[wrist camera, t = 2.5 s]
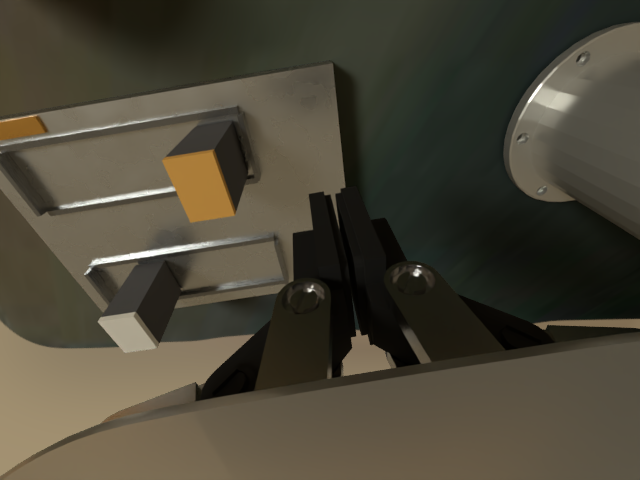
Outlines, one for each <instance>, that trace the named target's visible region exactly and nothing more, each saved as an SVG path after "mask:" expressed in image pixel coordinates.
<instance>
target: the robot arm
mask: <svg viewBox="0 0 640 480" xmlns="http://www.w3.org/2000/svg"><path fill="white" fill-rule="evenodd" d="M503 157H504V163H505V169H506V171H507V173H508V175H509V178H510V179H511V181H512V182H513V183H514V184H515V185H516V187H518V188H519V189H520V190H522V191H523V192H524V193H526V194H527V195H529V196H531V197H533V198H534V199H537V200H542V201H547V202H566V201H572V200H577V201H578V202H580V203H581V204H583V205H585V206H586V207H588V208H589V209H591V210H593V211H594V212H596V213H598V214H599V215H601V216H602V217H604V218H606V219H607V220H609V221H610V222H612V223H614V224H615V225H617V226H618V227H620V228H622V229H623V230H625V231H626V232H628V233H630V234H631V235H633V236H635V237H636V238H638V239H639V240H640V22H631V23H625V24H619V25H614V26H611V27H608V28H606V29H603V30H600V31H598V32H595V33H593V34H591V35H590V36H588V37H586V38H584V39H582V40H581V41H579V42H577V43H575V44H574V45H573V46H571V47H570V48H569V49H567V50H566V51H565V52H563V53H562V54H561V55H559V56H558V57H557V58H556V59H555V60H554V61H553V62H551V63H550V64H549V65H548V66H547V67H546V68H545V69H544V70H543V71H542V72H541V73H540V74H539V76H538V77H537V78H536V79H535V81H534V82H533V83H532V84H531V86H530V87H529V88H528V89H527V91H526V92H525V94H524V95H523V97H522V99H521V100H520V102H519V104H518V105H517V107H516V109H515V111H514V113H513V116H512V118H511V120H510V123H509V125H508V129H507V132H506V136H505V140H504V153H503ZM340 191H341V193H336V194H335V198H336V206H337V214H338V222H339V226H338V222H337V218H336V214H335V210H334V206H333V202H332V198H331V194H330V195H324V191H323V192H317V193H311V194H309V201H310V209H311V217H312V225H313V230H308V231H302V232H296V233H293V280H294V281H292V282H290V283H288V284H287V285H285V286H284V287H283V288H282V289H281V290H280V292H279V293H278V295H277V298H276V301H275V305H274V310H273V314H272V318H271V320H270V321H269V322H268V323H267V324H266V325H264V326H263V327H262V328H261V329H260V330H259V331H258V332H257V333H256V334H255V335H254V336H252V337H251V338H250V339H249V340H248V341H247V342H246V343H245V344H244V345H243V346H242V347H241V348H239V349H238V350H237V351H236V352H235V353H234V354H233V355H232V356H231V357H230V358H229V359H227V361H225V362H224V363H223V364H222V365H221V366H220V367H219V368H218V369H217V370H216V371H215V372H214V373H213V374H212V375H211V376H210V377H209V378H208V379H207V381H206V383H204V384H202V385H199V386H198V385H197V384H196V382H195V383H192V384H189V385H187V386H184V387H181V388H179V389H176V390H174V391H171V392H168V393H166V394H163V395H160V396H158V397H155V398H153V399H150V400H147V401H145V402H142V403H139V404H137V405H134V406H131V407H129V408H126V409H124V410H121V411H118V412H117V413H115V414H113V415H111V416H109V417H108V418H106V419H105V420H104V421H103V422H102V423H101V424H99V425H96V426H94V427H91V428H89V429H86V430H84V431H81V432H79V433H76V434H74V435H71V436H69V437H67V438H65V439H63V440H61V441H59V442H57V443H55V444H53V445H51V446H49V447H47V448H46V449H44V450H42V451H40V452H38V453H36V454H34V455H32V456H31V457H29V458H28V459H26V460H24V461H23V462H21V463H20V464H18V465H17V466H15V467H14V468H12V469H11V470H9V471H8V472H6V473H5V474H3V475H2V476H0V480H640V329H637V328H616V327H586V326H556V325H547V328H546V330H542V329H540V328H539V327H538V326H536V325H534V324H532V323H530V322H528V321H526V320H523V319H520V318H518V317H515V316H513V315H510V314H507V313H505V312H502V311H500V310H497V309H494V308H492V307H489V306H487V305H484V304H481V303H479V302H476V301H474V300H471V299H468V298H466V297H463V296H461V295H458V294H457V293H456V292H455V291H454V290H453V289H452V288H451V287H450V285H449V284H448V283H447V282H446V281H445V280H444V278H443V277H442V276H441V275H440V274H439V273H438V272H437V271H436V270H435V269H434V268H433V267H431V266H429V265H427V264H425V263H421V262H417V261H407V259H406V258H405V256H404V254H403V252H402V250H401V248H400V246H399V244H398V242H397V240H396V238H395V236H394V234H393V232H392V230H391V228H390V226H389V224H388V222H387V220H386V219H385V218H380V219H374V220H371V219H370V217H369V215H368V212H367V210H366V208H365V205H364V203H363V201H362V198H361V196H360V194H359V191H358V189H357V187H356V186H353V187H347V188H341V189H340ZM351 294H352V295H351ZM352 298H353V302H354V306H355V311H356V315H357V319H358V323H359V328H360V332H361V335H367V334H368V337H369V341H370V345H373V344H374V345H376V346H377V347H379V348H381V349H383V350H384V351H385V354H386V357H387V360H388V362H389V364H390V366H391V369H386V370H380V371H374V372H368V373H362V374H355V375H349V376H343V363H342V360H343V359H344V357H345V356H346V355H347V354H348V352H349V351H350V350H351V349H352V344H351V337H355V336H356V330H355V321H354V312H353V304H352Z"/></svg>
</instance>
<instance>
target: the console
mask: <svg viewBox="0 0 640 480" xmlns="http://www.w3.org/2000/svg"><path fill="white" fill-rule="evenodd" d="M232 120H233V122H234V125H235V129H236V132H237V135H238V139H239V142H240V145H241V149H242V152H243V156H244V159H245V162H246V166H247V169H248V172H249V173H248V176H247V179H246V182H245V185H244V189H243V192H242V195H241V198H240V201H239V204H238V208H237V211H236V214H235V216H230V217H223V218H217V219H211V220H204V221H198V222H192V223H190V221H189V218H188V216H187V214H186V212H185V210H184V208H183V205H182V203H181V201H180V199H179V197H178V195H177V192H176V190H175V188H174V186H173V184H172V181H171V179H170V177H169V175H168V173H167V171H166V168H165V166H164V164H163V162H162V160H163V159H164V158H165V157H166V156H167V155H168V154H169V153H170V152H171V151H172V149H173V148H174V147H175V146H176V145H177V144H178V143H179V142H180V141H181V140H182V139H183V138H184V137H185V136H186V135H187V134H188V133H189V132H190V131H191V130H192V129H193V128H194V127H196V126H202V125H208V124H214V123H220V122H226V121H232ZM341 188H345V178H344V168H343V158H342V149H341V139H340V129H339V119H338V109H337V100H336V90H335V80H334V70H333V63H332V62H331V61H330V60H328V61H322V62H316V63H310V64H304V65H299V66H293V67H287V68H281V69H275V70H269V71H264V72H258V73H252V74H246V75H240V76H234V77H228V78H223V79H217V80H211V81H205V82H199V83H193V84H187V85H182V86H176V87H170V88H164V89H158V90H152V91H147V92H141V93H135V94H129V95H123V96H117V97H111V98H106V99H100V100H94V101H88V102H82V103H76V104H70V105H65V106H59V107H53V108H47V109H41V110H35V111H30V112H24V113H18V114H12V115H6V116H0V189H1V190H2V191H3V192H4V194H5V195H6V196H7V197H8V198H9V200H10V201H11V202H12V203H13V205H14V206H15V207H16V208H17V209H18V211H19V212H20V213H21V214H22V215H23V217H24V218H25V219H26V220H27V221H28V223H29V224H30V225H31V226H32V227H33V229H34V230H35V231H36V232H37V233H38V235H39V236H40V237H41V238H42V240H43V241H44V242H45V243H46V244H47V246H48V247H49V248H50V249H51V250H52V252H53V253H54V254H55V255H56V256H57V258H58V259H59V260H60V261H61V262H62V264H63V265H64V266H65V267H66V268H67V270H68V271H69V272H70V273H71V275H72V276H73V277H74V278H75V279H76V281H77V282H78V283H79V284H80V285H81V287H82V288H83V289H84V290H85V291H86V293H87V294H88V295H89V296H90V297H91V299H92V300H93V301H94V302H95V304H96V305H97V306H98V307H99V308H100V310H101V311H102V312H103V313H104V312H105V310H106V309H107V307H108V306H109V304H110V303H111V301H112V300H113V298H114V297H115V295H116V294H117V292H118V291H119V289H120V288H121V286H122V285H123V283H124V282H125V280H126V279H127V277H128V276H129V274H130V273H131V271H132V270H133V268H134V267H135V265H140V264H146V263H153V262H159V261H165V263H166V264H167V266H168V268H169V270H170V271H171V273H172V275H173V277H174V278H175V280H176V282H177V284H178V285H179V287H180V289H181V294H180V296H179V298H178V301H177V303H176V305H175V308H181V307H187V306H194V305H201V304H207V303H214V302H220V301H227V300H234V299H240V298H247V297H254V296H260V295H267V294H274V293H279V292H280V290H281V289H282V288H283V287H284V286H285V285H287V284H288V283H290V282H292V281H294V280H293V233H296V232H302V231H308V230H313V225H312V217H311V209H310V201H309V194H311V193H317V192H323V191H324V195H330V194H331V198H332V202H333V206H334V210H335V214H336V218H337V222H338V214H337V206H336V198H335V194H336V193H341V191H340V189H341ZM338 226H339V222H338Z"/></svg>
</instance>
